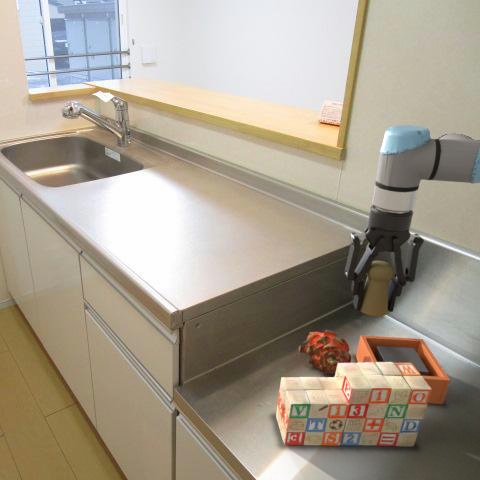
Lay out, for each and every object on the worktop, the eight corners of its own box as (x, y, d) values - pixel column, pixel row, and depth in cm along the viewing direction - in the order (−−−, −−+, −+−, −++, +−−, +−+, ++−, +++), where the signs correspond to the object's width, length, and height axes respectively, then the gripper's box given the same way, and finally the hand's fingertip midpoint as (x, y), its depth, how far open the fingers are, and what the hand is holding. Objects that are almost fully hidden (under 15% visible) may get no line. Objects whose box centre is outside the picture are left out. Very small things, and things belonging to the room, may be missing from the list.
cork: (385, 319, 94) (395, 272, 89) (354, 311, 97) (362, 266, 92) (389, 305, 99) (398, 260, 94) (359, 298, 101) (367, 254, 97)
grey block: (409, 366, 90) (414, 347, 89) (423, 390, 84) (429, 372, 82) (372, 363, 91) (376, 345, 89) (384, 388, 85) (388, 369, 83)
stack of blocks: (283, 446, 74) (292, 388, 69) (275, 417, 80) (282, 361, 74) (415, 446, 74) (433, 388, 68) (397, 417, 79) (412, 361, 74)
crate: (416, 361, 93) (422, 338, 90) (442, 404, 82) (450, 380, 79) (355, 357, 94) (360, 335, 92) (373, 399, 83) (379, 375, 81)
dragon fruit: (337, 395, 86) (305, 363, 97) (371, 367, 86) (335, 338, 97) (315, 368, 83) (285, 337, 95) (350, 338, 83) (316, 311, 94)
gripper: (435, 201, 90) (412, 300, 100) (337, 200, 93) (323, 296, 102) (453, 214, 84) (426, 319, 93) (346, 213, 86) (331, 315, 95)
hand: (372, 307), depth 98 cm, fingers closed on cork, 6 cm apart
